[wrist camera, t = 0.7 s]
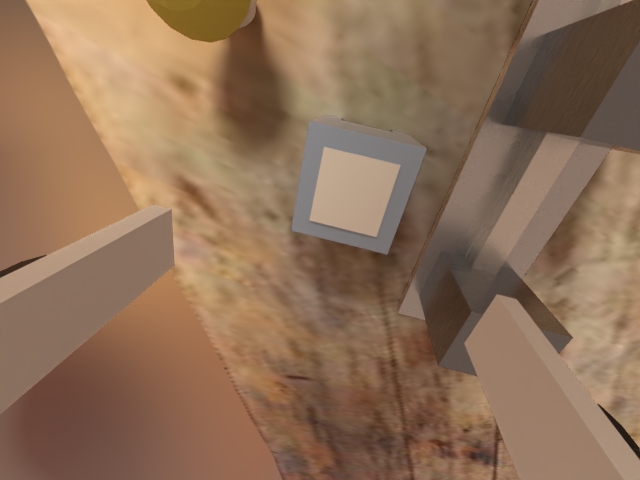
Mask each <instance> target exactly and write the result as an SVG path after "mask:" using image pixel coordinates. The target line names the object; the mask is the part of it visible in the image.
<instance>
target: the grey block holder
mask: <svg viewBox="0 0 640 480" xmlns="http://www.w3.org/2000/svg"><path fill="white" fill-rule="evenodd" d="M611 149H615V150H620V151H625V152H630V153H636V154H640V0H533V1H532V3H531V6H530V8H529V10H528V12H527V15H526V17H525V19H524V21H523V24H522V26H521V28H520V31H519V33H518V35H517V37H516V40H515V42H514V44H513V46H512V49H511V51H510V53H509V55H508V58H507V60H506V62H505V64H504V67H503V69H502V71H501V73H500V76H499V78H498V80H497V82H496V85H495V87H494V89H493V92H492V94H491V96H490V98H489V101H488V103H487V105H486V107H485V110H484V112H483V114H482V116H481V119H480V121H479V123H478V125H477V128H476V130H475V132H474V134H473V137H472V139H471V141H470V144H469V146H468V148H467V150H466V153H465V155H464V157H463V159H462V162H461V164H460V166H459V168H458V171H457V173H456V175H455V177H454V180H453V182H452V184H451V186H450V189H449V191H448V193H447V196H446V198H445V200H444V202H443V205H442V207H441V209H440V211H439V214H438V216H437V218H436V220H435V223H434V225H433V227H432V229H431V232H430V234H429V236H428V238H427V241H426V243H425V245H424V247H423V250H422V252H421V254H420V257H419V259H418V261H417V263H416V266H415V268H414V270H413V272H412V275H411V277H410V279H409V281H408V284H407V286H406V288H405V290H404V293H403V295H402V297H401V299H400V302H399V304H398V306H397V311H398V313H399V314H403V315H406V316H410V317H414V318H418V319H422V320H426V323H427V327H428V331H429V334H430V338H431V342H432V345H433V349H434V353H435V356H436V360H437V364H438V366H441V367H444V368H448V369H452V370H456V371H460V372H463V373H467V374H471V375H475V376H477V373H476V371H475V369H474V366H473V364H472V361H471V359H470V356H469V354H468V351H467V349H466V346H465V344H464V343H465V341H466V340H467V338H468V337H469V335H470V334H471V332H472V331H473V329H474V328H475V326H476V325H477V323H478V322H479V320H480V319H481V317H482V316H483V314H484V313H485V311H486V310H487V308H488V307H489V305H490V304H491V302H492V301H493V299H494V298H495V296H496V295H497V294H498V295H502V296H506V297H510V298H514V299H517V300H518V301H519V303H520V304H521V305H522V307H523V308H524V309H525V311H526V312H527V313H528V315H529V316H530V317H531V318H532V320H533V321H534V322H535V324H536V325H537V326H538V328H539V329H540V330H541V332H542V333H543V334H544V335H545V337H546V338H547V339H548V341H549V342H550V343H551V345H552V346H553V347H554V348H555V350H556V351H557V352H558V354H559V353H560V351H561V350H562V349H563V348H564V347H565V346H566V345H567V344H568V343H569V342H570V340H571V339H572V338H573V337H572V336H571V335H570V334H569V332H568V331H567V330H566V329H565V328H564V327H563V326H562V325H561V323H560V322H559V321H558V320H557V319H556V318H555V317H554V315H553V314H552V313H551V312H550V311H549V310H548V309H547V307H546V306H545V305H544V304H543V303H542V302H541V301H540V300H539V298H538V297H537V296H536V295H535V294H534V293H533V292H532V290H531V289H530V288H529V287H528V286H527V285H526V284H525V282H524V281H523V280H522V278H523V277H524V275H525V274H526V272H527V271H528V269H529V268H530V266H531V265H532V263H533V262H534V261H535V259H536V258H537V256H538V255H539V253H540V252H541V250H542V249H543V247H544V246H545V244H546V243H547V242H548V240H549V239H550V237H551V236H552V234H553V233H554V231H555V230H556V228H557V227H558V226H559V224H560V223H561V221H562V220H563V218H564V217H565V215H566V214H567V212H568V211H569V209H570V208H571V207H572V205H573V204H574V202H575V201H576V199H577V198H578V196H579V195H580V193H581V192H582V191H583V189H584V188H585V186H586V185H587V183H588V182H589V180H590V179H591V177H592V176H593V174H594V173H595V172H596V170H597V169H598V167H599V166H600V164H601V163H602V161H603V160H604V158H605V157H606V155H607V154H608V153H609V151H610V150H611Z"/></svg>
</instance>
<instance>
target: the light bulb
mask: <svg viewBox="0 0 640 480" xmlns="http://www.w3.org/2000/svg"><path fill="white" fill-rule="evenodd" d="M147 2H148V3H149V5H150V6H151V8H152V9H153V10H154V11H155V12H156V13H157V14H158V15H159V16H160V17H161V18H162V19H163V20H164V22H165V23H166V24H168V25H169V26H170V27H171V28H172V29H174V30H176V31H178V32H179V33H181V34H183V35H185V36H187V37H188V38H190V39H193V40H199V41H205V42H215V41H219V40H223V39H226V38H227V37H229V36H230V35H231V34H232V33H234V32H235V31H236V30H238V29H239V28H242V27H245V26H246V25H248V24H249V23H250V22H251V21H252V20H253V18H254V17H255V13H256V0H147Z"/></svg>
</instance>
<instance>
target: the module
mask: <svg viewBox="0 0 640 480" xmlns="http://www.w3.org/2000/svg"><path fill="white" fill-rule="evenodd" d="M426 151H427V148H426V147H424V146H423V145H422V144H420V143H419V142H418V141H416V140H415V139H414V138H413V137H411V136H410V135H409V134H407V133H404V132H399V131H395V130H391V132H390V131H386V130H382V129H377V128H373V127H369V126H365V125H360V124H356V123H352V122H347V121H343V118H339V117H335V116H331V115H326V116H323V117H320V118H317V119H314V120H311V121H309V126H308V132H307V138H306V144H305V150H304V156H303V162H302V168H301V174H300V180H299V185H298V191H297V197H296V203H295V209H294V215H293V221H292V227H291V231H295V232H299V233H303V234H307V235H311V236H315V237H319V238H323V239H327V240H331V241H335V242H339V243H343V244H347V245H351V246H355V247H359V248H363V249H367V250H371V251H375V252H379V253H383V254H387V255H388V252H389V249H390V247H391V244H392V241H393V239H394V236H395V233H396V231H397V228H398V225H399V223H400V220H401V217H402V215H403V212H404V209H405V207H406V204H407V201H408V199H409V196H410V193H411V191H412V188H413V185H414V183H415V180H416V177H417V175H418V172H419V169H420V167H421V164H422V161H423V159H424V156H425V153H426Z"/></svg>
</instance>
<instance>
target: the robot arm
mask: <svg viewBox="0 0 640 480" xmlns="http://www.w3.org/2000/svg"><path fill="white" fill-rule="evenodd" d="M173 266H174V247H173V228H172V210H171V209H169V208H166V207H162V206H158V205H154V204H153V205H151V206H149V207H147V208H145V209H143V210H140V211H138V212H136V213H134V214H132V215H130V216H128V217H126V218H124V219H122V220H120V221H118V222H116V223H113V224H111V225H110V226H107V227H105V228H103V229H101V230H99V231H97V232H95V233H93V234H91V235H88V236H86V237H84V238H82V239H80V240H78V241H76V242H74V243H72V244H70V245H68V246H66V247H64V248H61V249H59V250H57V251H55V252H54V253H51V254H49V255H44V256H41V257H37V258H33V259H30V260H26V261H22V262H20V263H18V264H16V265H13V266H11V267H9V268H7V269H5V270H2V271H0V414H1V413H2V412H3V411H4V410H6V409H7V408H8V407H9V406H10V405H11V404H13V403H14V402H15V401H16V400H17V399H18V398H20V397H21V396H22V395H23V394H24V393H25V392H27V391H28V390H29V389H30V388H31V387H32V386H34V385H35V384H36V383H37V382H38V381H40V380H41V379H42V378H43V377H44V376H45V375H47V374H48V373H49V372H50V371H51V370H52V369H54V368H55V367H56V366H57V365H58V364H59V363H61V362H62V361H63V360H64V359H65V358H66V357H68V356H69V355H70V354H71V353H72V352H73V351H75V350H76V349H77V348H78V347H79V346H81V345H82V344H83V343H84V342H85V341H86V340H87V339H89V338H90V337H91V336H92V335H93V334H95V333H96V332H97V331H98V330H99V329H100V328H102V327H103V326H104V325H105V324H106V323H108V322H109V321H110V320H111V319H112V318H113V317H115V316H116V315H117V314H118V313H119V312H120V311H122V310H123V309H124V308H125V307H126V306H127V305H129V304H130V303H131V302H132V301H133V300H134V299H136V298H137V297H138V296H139V295H140V294H141V293H143V292H144V291H145V290H146V289H147V288H148V287H150V286H151V285H152V284H153V283H154V282H156V281H157V280H158V279H159V278H160V277H161V276H162V275H164V274H165V273H166V272H167V271H168V270H170V269H171V268H172V267H173ZM464 344H465V346H466V349H467V351H468V354H469V356H470V359H471V361H472V364H473V366H474V369H475V371H476V373H477V376H478V378H479V381H480V383H481V386H482V388H483V391H484V393H485V396H486V398H487V400H488V403H489V405H490V408H491V410H492V413H493V415H494V418H495V420H496V423H497V425H498V427H499V430H500V432H501V435H502V437H503V440H504V442H505V445H506V447H507V450H508V452H509V454H510V457H511V459H512V462H513V464H514V467H515V469H516V472H517V474H518V476H519V479H520V480H640V448H639V447H638V446H637V444H636V443H635V442H634V441H633V439H632V438H631V437H630V435H629V434H628V433H627V432H626V430H625V429H624V428H623V427H622V425H620V424H619V423H618V422H617V421H616V420H615V419H614V418H613V417H612V416H611V415H610V414H609V413H608V412H607V411H606V410H605V409H603V408H602V407H601V406H600V405H599V404H597V403H596V402H595V401H594V399H593V398H592V397H591V396H590V394H589V393H588V392H587V390H586V389H585V388H584V386H583V385H582V384H581V382H580V381H579V380H578V379H577V377H576V376H575V375H574V373H573V372H572V371H571V369H570V368H569V367H568V365H567V364H566V363H565V362H564V360H563V359H562V358H561V356H560V355H559V354H558V352H557V351H556V350H555V348H554V347H553V346H552V345H551V343H550V342H549V341H548V339H547V338H546V337H545V335H544V334H543V333H542V332H541V330H540V329H539V328H538V326H537V325H536V324H535V322H534V321H533V320H532V318H531V317H530V316H529V315H528V313H527V312H526V311H525V309H524V308H523V307H522V305H521V304H520V303H519V301H518V300H517V299H514V298H510V297H506V296H502V295H498V294H497V295H496V296H495V298H494V299H493V301H492V302H491V304H490V305H489V307H488V308H487V310H486V311H485V313H484V314H483V316H482V317H481V319H480V320H479V322H478V323H477V325H476V326H475V328H474V329H473V331H472V332H471V334H470V335H469V337H468V338H467V340H466V341H465V343H464Z"/></svg>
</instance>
